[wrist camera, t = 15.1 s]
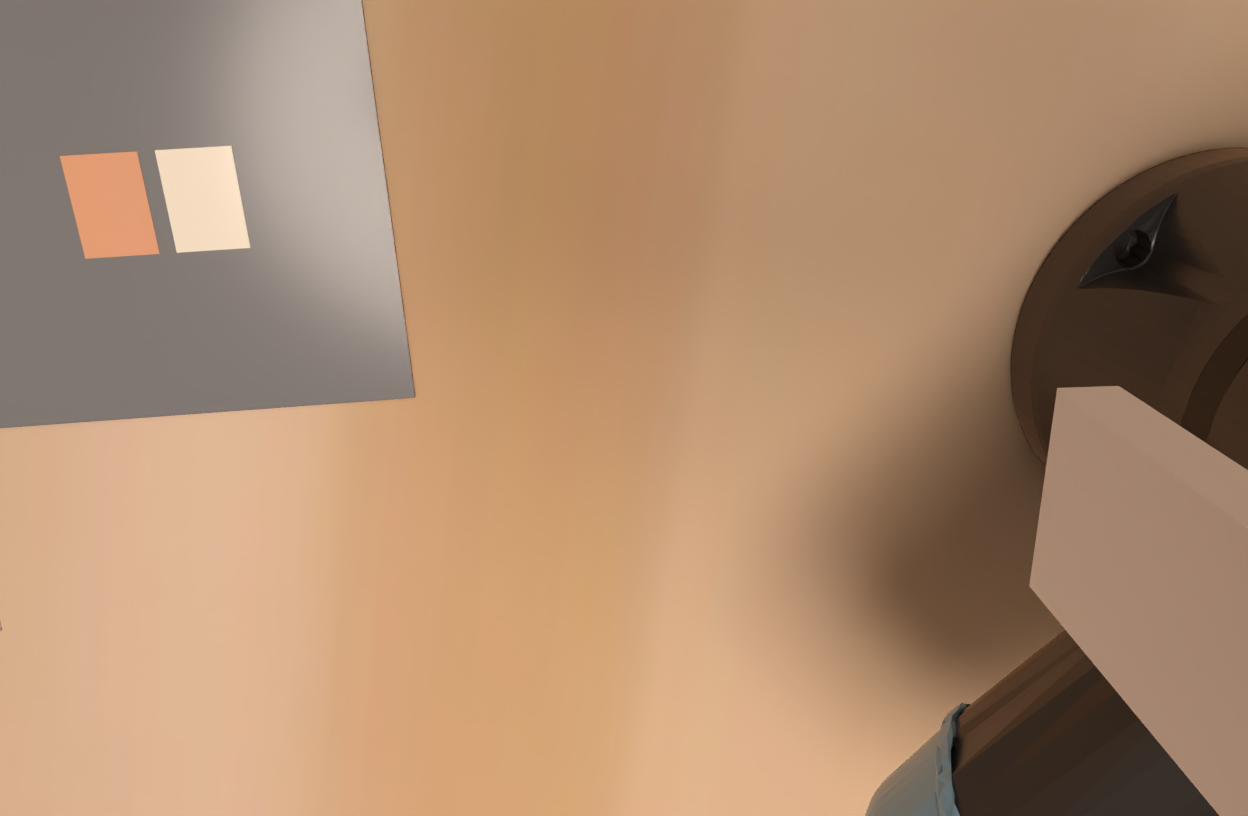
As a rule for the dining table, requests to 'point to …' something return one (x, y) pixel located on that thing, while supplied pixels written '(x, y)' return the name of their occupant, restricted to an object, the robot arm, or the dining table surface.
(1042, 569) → the robot arm
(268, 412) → the dining table surface
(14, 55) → the tile
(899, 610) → the dining table surface
